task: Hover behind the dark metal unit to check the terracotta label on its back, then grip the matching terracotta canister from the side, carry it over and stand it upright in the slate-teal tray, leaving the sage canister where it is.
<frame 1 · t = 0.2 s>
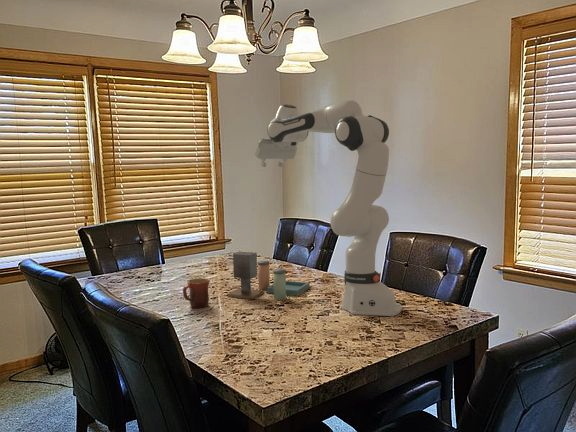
hand: (271, 166, 222), 54 cm above the table, tool tilted 30°, fingers open, 8 cm apart
tray: (288, 290, 210), on the table
mug: (196, 307, 189), on the table
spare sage: (280, 298, 198), on the table
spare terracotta: (264, 287, 215), on the table
unit: (246, 295, 204), on the table
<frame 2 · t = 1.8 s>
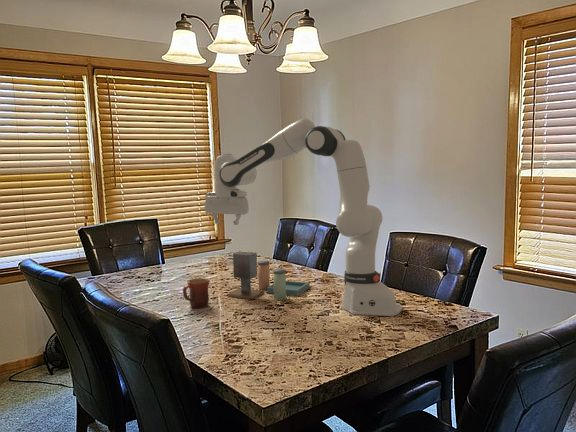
hand: (226, 224, 207), 30 cm above the table, tool pointing down, fingers open, 8 cm apart
nothing on the table moved.
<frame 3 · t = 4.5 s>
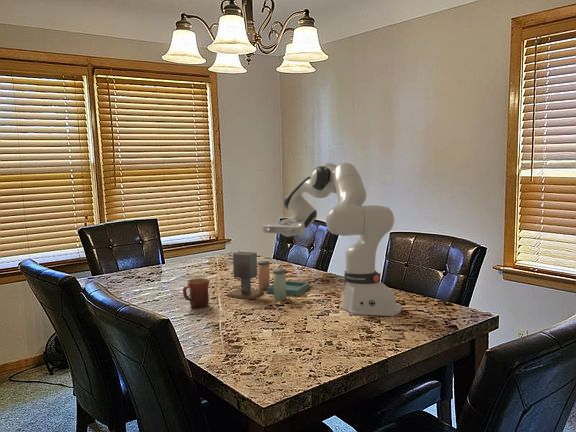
hand: (276, 231, 225), 24 cm above the table, tool horizontal, fingers open, 8 cm apart
nothing on the table moved.
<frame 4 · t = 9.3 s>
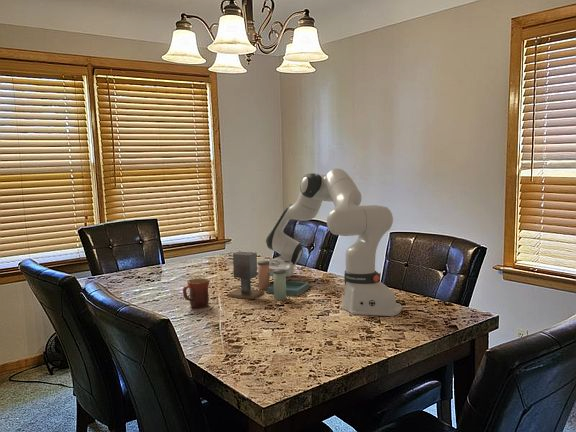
hand: (262, 274, 214), 7 cm above the table, tool horizontal, fingers closed on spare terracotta, 5 cm apart
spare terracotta: (264, 287, 215), on the table, touching gripper
everything else where it was.
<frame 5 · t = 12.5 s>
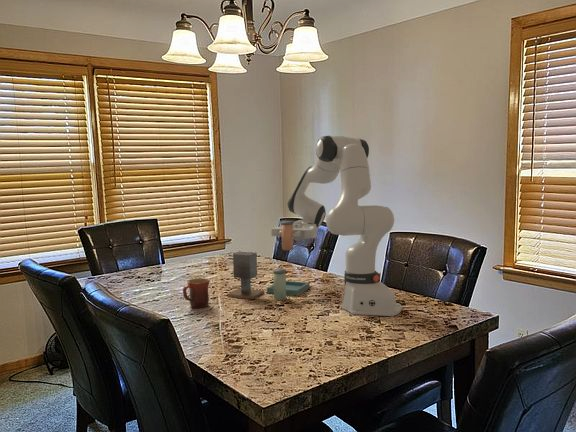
hand: (286, 234, 207), 25 cm above the table, tool horizontal, fingers closed on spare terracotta, 5 cm apart
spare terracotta: (287, 249, 208), point 18 cm above the table, touching gripper
everything else where it was.
when the fingers open (9 cm above the table, at t = 15.7 s): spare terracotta drops 2 cm, resting on tray.
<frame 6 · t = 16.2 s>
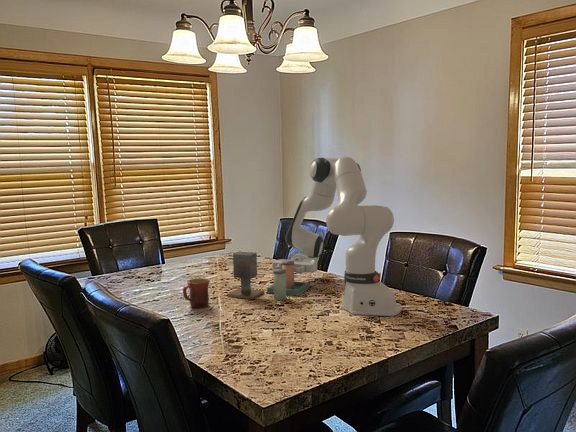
hand: (287, 269, 208), 9 cm above the table, tool horizontal, fingers open, 8 cm apart
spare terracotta: (288, 288, 210), point 1 cm above the table, touching tray
everything else where it was.
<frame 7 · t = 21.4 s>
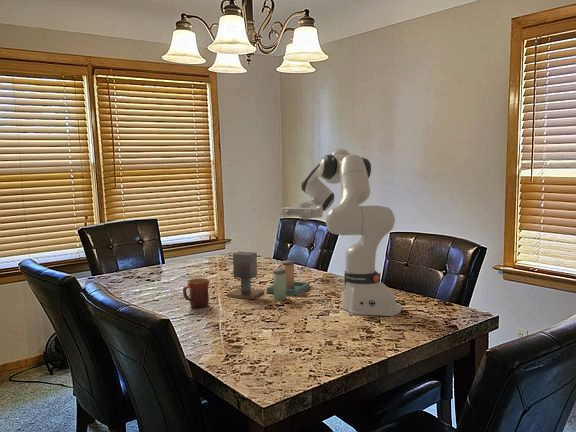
hand: (295, 213, 225), 32 cm above the table, tool horizontal, fingers open, 8 cm apart
nothing on the table moved.
at the end: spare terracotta inside the target area on the tray (0.0 cm from its centre), point 0.8 cm above the tray's base; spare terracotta tilted 0°; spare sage moved 0.0 cm from its start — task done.
